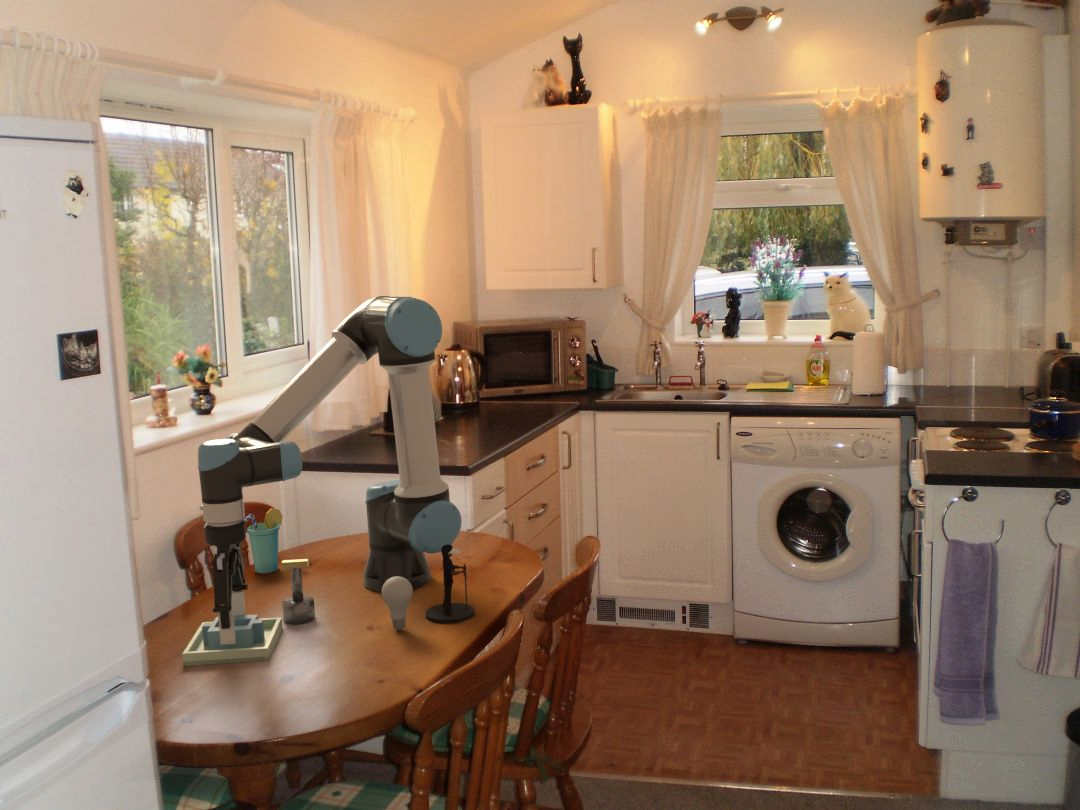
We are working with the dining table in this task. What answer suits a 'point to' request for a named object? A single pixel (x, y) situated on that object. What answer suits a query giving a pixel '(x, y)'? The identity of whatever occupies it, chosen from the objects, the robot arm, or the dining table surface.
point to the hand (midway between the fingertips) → (233, 633)
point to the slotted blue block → (245, 633)
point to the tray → (259, 652)
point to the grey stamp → (297, 596)
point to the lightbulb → (397, 599)
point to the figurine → (448, 610)
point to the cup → (265, 541)
